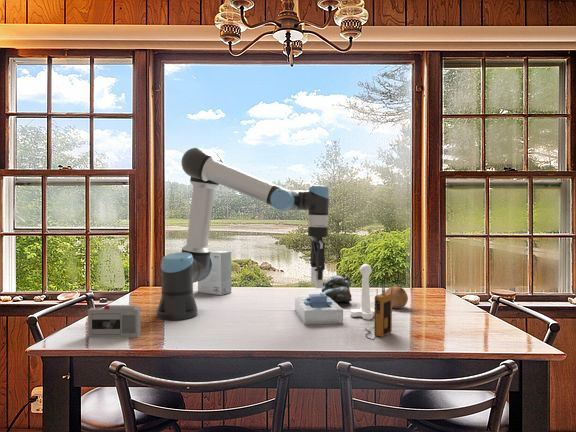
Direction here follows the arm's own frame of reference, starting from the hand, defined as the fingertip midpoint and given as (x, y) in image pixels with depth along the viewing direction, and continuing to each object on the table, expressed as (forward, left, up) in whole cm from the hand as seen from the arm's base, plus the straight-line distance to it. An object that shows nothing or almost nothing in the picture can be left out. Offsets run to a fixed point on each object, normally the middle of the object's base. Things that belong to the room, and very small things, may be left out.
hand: (316, 285), depth 163 cm
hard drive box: (-40, +50, -12) cm, 65 cm away
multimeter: (+14, -23, -12) cm, 30 cm away
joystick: (+18, -4, -12) cm, 22 cm away
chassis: (0, 0, -12) cm, 12 cm away
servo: (0, 0, -12) cm, 12 cm away
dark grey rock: (+12, +21, -12) cm, 27 cm away
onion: (+35, +9, -12) cm, 38 cm away
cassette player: (-70, -16, -12) cm, 72 cm away
